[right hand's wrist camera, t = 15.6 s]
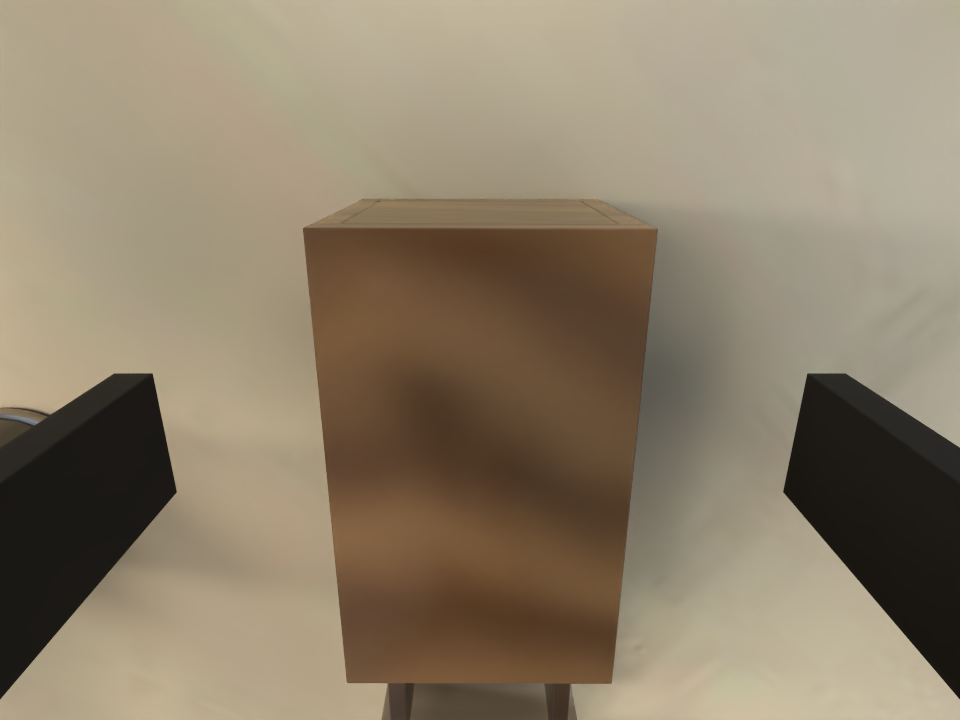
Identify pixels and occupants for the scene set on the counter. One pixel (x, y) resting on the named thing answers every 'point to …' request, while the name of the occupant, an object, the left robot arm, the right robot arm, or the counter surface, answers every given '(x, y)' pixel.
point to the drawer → (479, 701)
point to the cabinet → (479, 431)
